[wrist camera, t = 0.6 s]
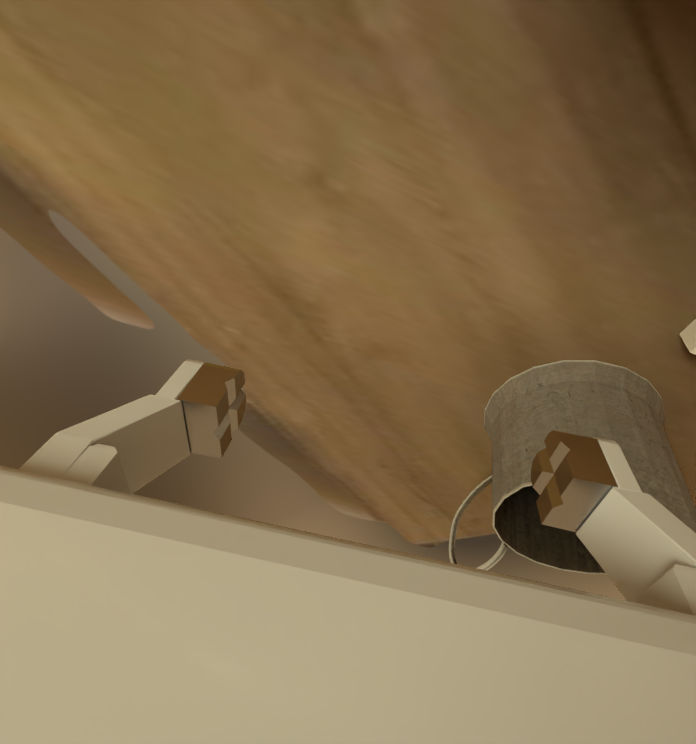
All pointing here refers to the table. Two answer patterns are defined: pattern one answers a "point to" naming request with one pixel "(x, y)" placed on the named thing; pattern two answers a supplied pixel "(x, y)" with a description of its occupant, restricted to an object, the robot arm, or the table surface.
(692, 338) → the white slab
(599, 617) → the robot arm
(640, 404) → the pitcher
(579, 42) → the table surface
